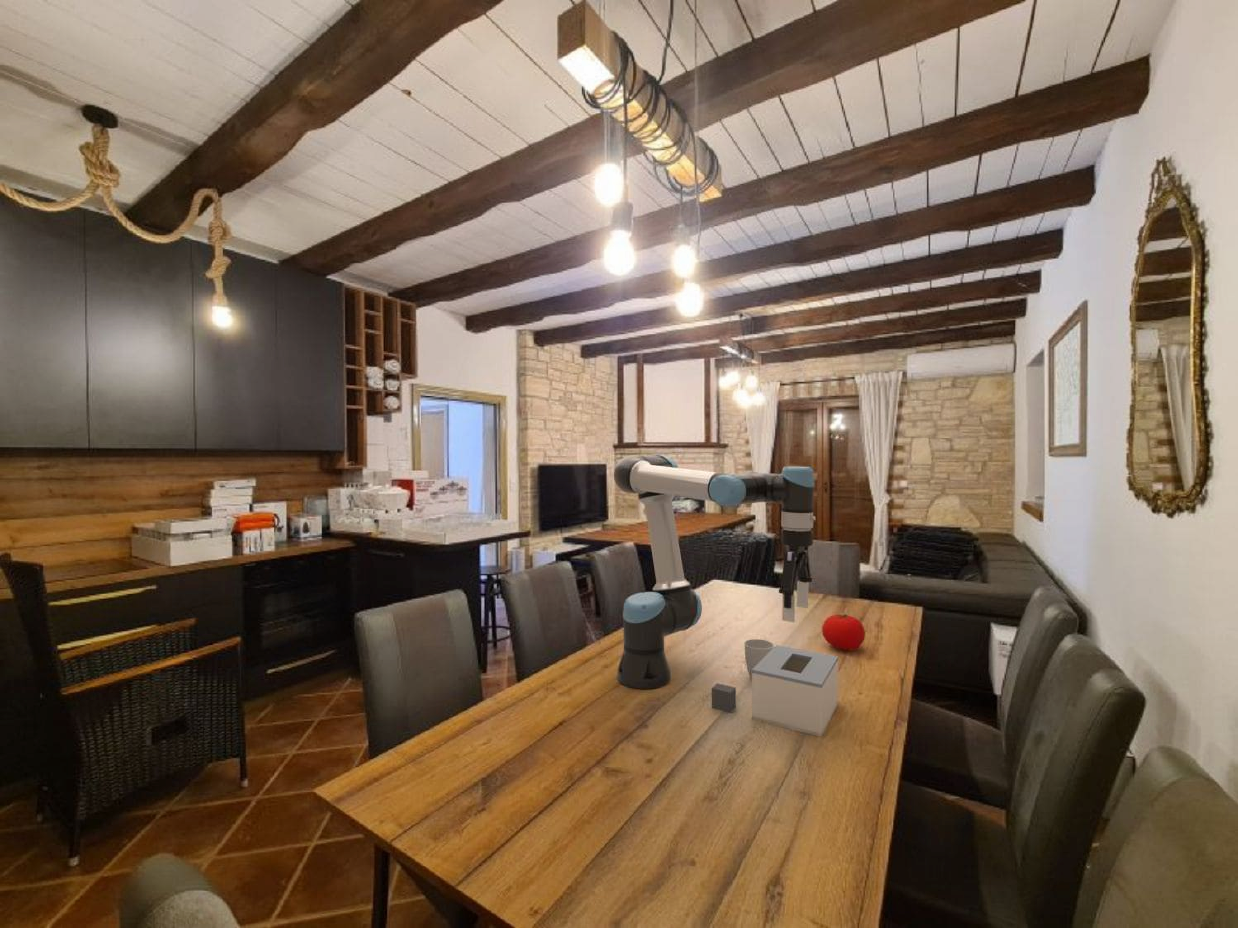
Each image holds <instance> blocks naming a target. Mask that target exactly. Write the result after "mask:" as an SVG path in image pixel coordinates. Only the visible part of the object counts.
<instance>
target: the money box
mask: <svg viewBox="0 0 1238 928" xmlns="http://www.w3.org/2000/svg"><path fill="white" fill-rule="evenodd" d="M838 704H839V656H836V655H832V654H826V653H822V652H815V651H810V650H806V649H800V648H794V647H789V646H783V645H777V644H776V645H774V648H773V649H772V650H771V651H770V652H769V653H768V654H767V655H766V656H765V657H764V658H763V659H762V660H761V661H760V662H759V663H758V664H757V665H756V666H755V667H754V668H753V669H752V680H751V705H752V706H751V720H755V721H759V722H763V723H765V724H769V725H773V726H777V727H780V728H784V729H789V730H793V731H796V732H800V733H803V734H808V735H811V736H815V737H819V738H822V737H823V735H824V732H825V731H826V729H827V726H828V724H829V723H830V720H831V718H832V717H833V714H834V712H835V710H836V708H837V706H838Z"/></svg>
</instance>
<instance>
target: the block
mask: <svg viewBox="0 0 1238 928" xmlns="http://www.w3.org/2000/svg"><path fill="white" fill-rule="evenodd" d="M736 688H737V687H735V686H731V685H726V684H722V683H719V682H718V683H715V685H713V686H712V687H711V709H714V710H718V711H723V712H726V713H732V712H733V711H734V710H735V709H736V707H737V706H736V703H737V701H736V699H737V695H736V693H737V691H736V690H737V689H736Z"/></svg>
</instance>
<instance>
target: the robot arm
mask: <svg viewBox="0 0 1238 928" xmlns="http://www.w3.org/2000/svg"><path fill="white" fill-rule="evenodd" d="M814 477H815V475H814V470H813V469H812V467H810V466H784V467H783V468H782V471H781V473H767V472H766V473H765V472H745V473H742V474H741V473H737V474H736V473H725V472H715V471H707V470H706V471H705V470H697V469H689V468H679V466H678V465H677V462H675V461H674V459H672V458H671V457H669V456H666V455H660V454H646V455H645V454H644V455H642V454H641V455H640V454H639V455H637V454H633V455H632V454H631V455H627V456H625V457H623V458H621V460H619V461H618V462H617V463H616V466H615V468H614V471H613V478H614V479H613V480H614V482H615V484H616V485H617V487H618V489H620V490H621V491H623V492H625V493H627V494H637V495H638V496H637V497H638V501H639V502H640V503H641V504H643V506H644V510H645V516H646V523H647V529H648V535H649V541H650V549H651V553H652V554H651V555H652V561H653V567H654V568H653V569H654V575H655V580H656V581H655V582H656V583H655V584H654V586H653V588H652V591H645V592H637V593H634V594H632V595H630V596H628V597H627V598H626V599H625V601H624V603H623V612H622V619H623V620H622V622H623V626H622V627H623V650H622V651H623V652H622V654H621V655H622V656H621V657H620V662H619V665H618V667H617V681H618V682H619V683H620V684H622V685H624V686H626V687H629V688H633V689H638V690H639V689H642V690H643V689H645V690H647V689H648V690H649V689H656V688H657V689H658V688H662V687H664V686H666V685H667V684H668V683H669V682H670V681H671V668H670V666H669V665H670V664H669V662H668V658H667V655H666V653H665V637H667V636H670V635H672V634H676V633H679V632H681V631H687V630H688V629H690V628H691V627H694V626H695V625H697V623H698V622H699V620H701V619H700V618H701V616H702V612H703V605H702V600H701V598H700V596H699V595H698V594H697V592H696V590H693V589H692V585H691V583H690V582H689V581H688V580H687V579H686V578H685V574H684V567H683V563H682V562H683V561H682V556H681V550H680V549H681V548H680V545H679V538H678V537H679V536H678V531H677V530H678V529H677V525H676V519H675V512H674V506H673V500H674V498H675V497H680V498H681V497H682V498H688V499H695V500H700V501H708V502H714V503H715V504H716V505H718V506H721V507H722V506H723V507H735V506H738V505H739V506H740V505H747V504H748V505H749V504H757V503H770V504H771V503H772V504H781V521H780V526H781V527H782V529H781V530H780V531H781V532H780V533H781V534H780V541H781V542H780V543H781V544H782V545H784V546H788V551H784V554H783V555H784V556H783V557H784V558H783V567H782V573H781V581H780V588H779V589H778V593H779V594H782V609H781V611H782V612H781V613H782V615H781V620H782V621H785V622H790V623H795V621H796V620H795V618H796V617H795V613H796V611H795V610H796V608H795V607H797V608H802V609H808V608H809V584H810V583H812V582H813V578H812V575H811V566H810V556H809V547H811V546H813V544H814V531H813V530H812V529H813V528H814V521H816V520H817V519H816V516H814V499H815V498H814V494H815V493H814V492H815V491H814V490H815V486H816V485H815V478H814ZM797 579H798V581H797ZM795 587H796V594H795Z"/></svg>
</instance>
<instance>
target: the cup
mask: <svg viewBox="0 0 1238 928" xmlns="http://www.w3.org/2000/svg"><path fill="white" fill-rule="evenodd" d="M743 647H744V655H745V656H744V657H745V664H746V665H745V666H746V670H747V673H748V677H749V679H750V681H752V669H753V668H754V667H755V666H756V665H757V664H758V663H759V662H760V661H761V660H762V659H763V658H764V657H765V656H766V655H767V654H768V653H769V652H770V651H771V650H772V649H773V648H774V647H775V645H774V643H773V642H771V641H769V640H765V639H761V638H760V639H759V638H752V639H748V640H745V641H744V646H743Z"/></svg>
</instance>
